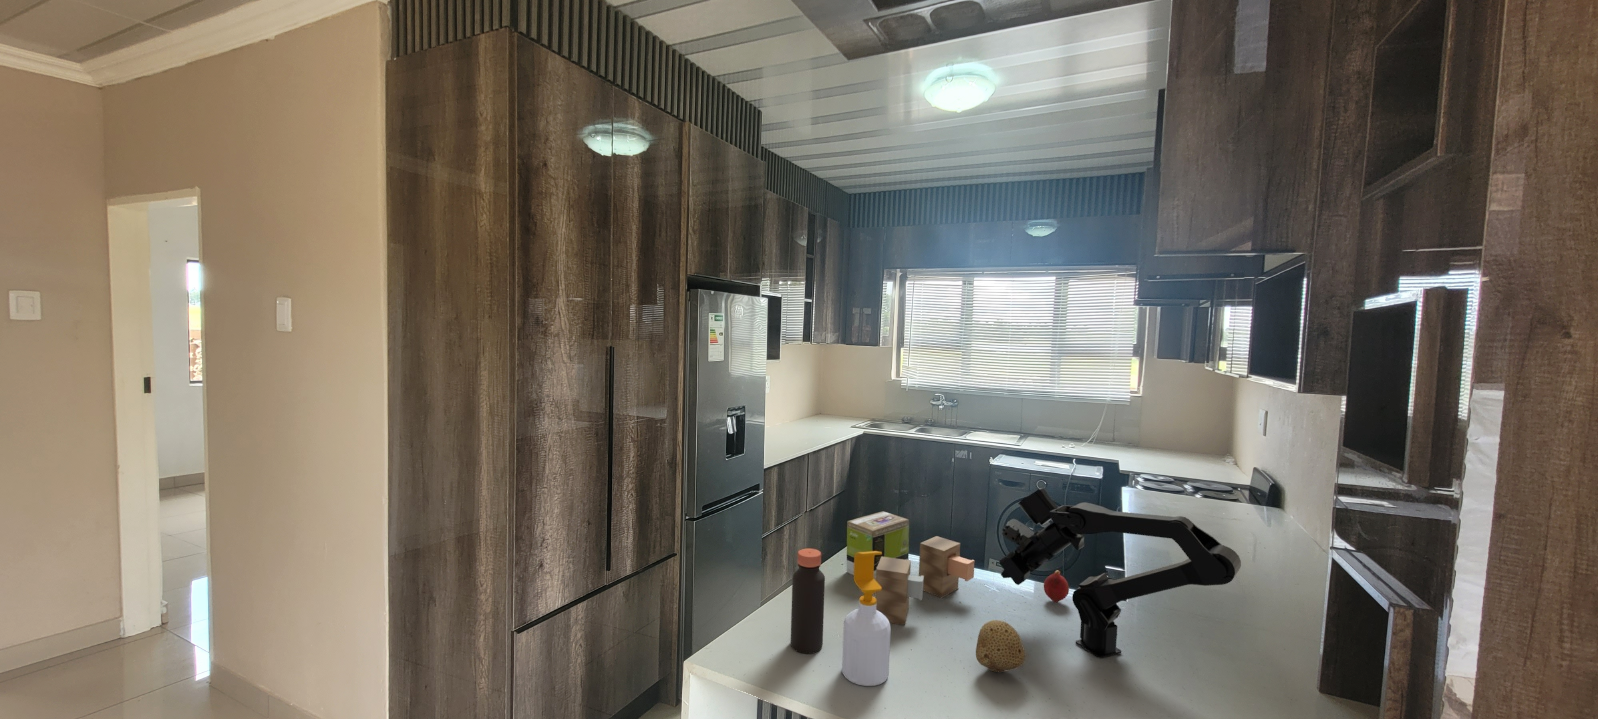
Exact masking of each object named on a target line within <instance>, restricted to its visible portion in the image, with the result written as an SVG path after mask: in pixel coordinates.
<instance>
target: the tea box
mask: <svg viewBox="0 0 1598 719" xmlns="http://www.w3.org/2000/svg"><path fill="white" fill-rule="evenodd" d="M846 525H847V526H846V573H847V574H850V575H852V576H854V556H855V553H857V552H870V551H878V552H882V554H880V555H875V556H874V579H875V581H876V569H877V566H878V564H879V561H880V559H881V557H889V558H896V559H904V560H909V553H910V548H909V547H910V544H909V543H910V519H908V518H905V517H903V516H899V515H896V514H892V513H889V512H886V511H884V510H883V511H879V512H875V513H871V514H868V515H864V516H861V517H858V518H854V519H851V520H847V524H846Z"/></svg>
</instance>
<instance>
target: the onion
mask: <svg viewBox="0 0 1598 719" xmlns="http://www.w3.org/2000/svg"><path fill="white" fill-rule="evenodd" d="M1043 591H1044V593H1045V595H1046V596H1047V597H1048V598H1049V599H1050V600H1052V601H1053V602H1054V603H1059V602H1060V601H1062V600H1064V599H1066V597H1068V595H1069V592H1070V587H1069V583H1068V581H1067V580H1066V578H1065V577H1064V576H1062V575H1061V571H1060V570H1058V569H1057V570H1055V571H1054V573H1052V574H1050V575H1049V576H1047V577H1046V578H1045V579H1044V582H1043Z"/></svg>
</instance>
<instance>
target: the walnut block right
mask: <svg viewBox="0 0 1598 719" xmlns="http://www.w3.org/2000/svg"><path fill="white" fill-rule="evenodd" d="M952 554H953V555H956V556H959V557H961V542H957V541H954V540H952V539H951V540H950V539H948V538H945V537H940V536H938V535H936V536H934V537H930V538H929V539H927V540H925V541H922V542H920V543H919V561H918V562H919V563H918V576H921V575H922V576H924V583H923V592H926V593H929V594H931V595H934V596H936V597H940V598H941V597H942V598H944V597H946V596H947V595H949V594H952V592H955V591H956V590H957V589H958V590H959V577H956V576H954V575H951V574H948V573H947V565H948V556H950V555H952Z"/></svg>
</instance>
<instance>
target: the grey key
mask: <svg viewBox="0 0 1598 719" xmlns="http://www.w3.org/2000/svg"><path fill="white" fill-rule="evenodd" d="M923 583H924V576H922V575H921V576H919V575H913V574H910V575H909V576H908V585H907V597H909V598H911V599H918V600H919V601H922V600H923V595H924V591H923Z"/></svg>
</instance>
